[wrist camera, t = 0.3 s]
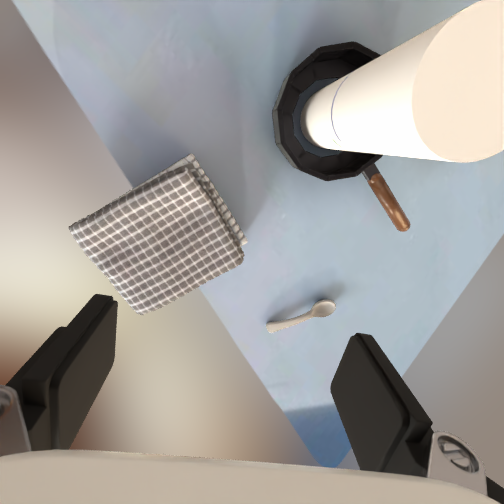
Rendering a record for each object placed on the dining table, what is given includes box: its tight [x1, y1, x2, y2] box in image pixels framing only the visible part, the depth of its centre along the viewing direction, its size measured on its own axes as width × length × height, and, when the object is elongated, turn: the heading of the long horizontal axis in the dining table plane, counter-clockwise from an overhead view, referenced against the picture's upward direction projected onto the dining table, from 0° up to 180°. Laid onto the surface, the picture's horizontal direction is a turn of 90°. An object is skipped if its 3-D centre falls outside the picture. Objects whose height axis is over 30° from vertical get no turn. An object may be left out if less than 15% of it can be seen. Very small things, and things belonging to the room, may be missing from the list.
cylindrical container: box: [300, 0, 504, 163], centre depth 26 cm, size 7×7×25 cm
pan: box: [272, 41, 410, 232], centre depth 37 cm, size 14×25×4 cm, turn 39°
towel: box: [69, 154, 247, 315], centre depth 38 cm, size 15×18×8 cm
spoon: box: [266, 299, 336, 333], centre depth 48 cm, size 3×12×2 cm, turn 113°
